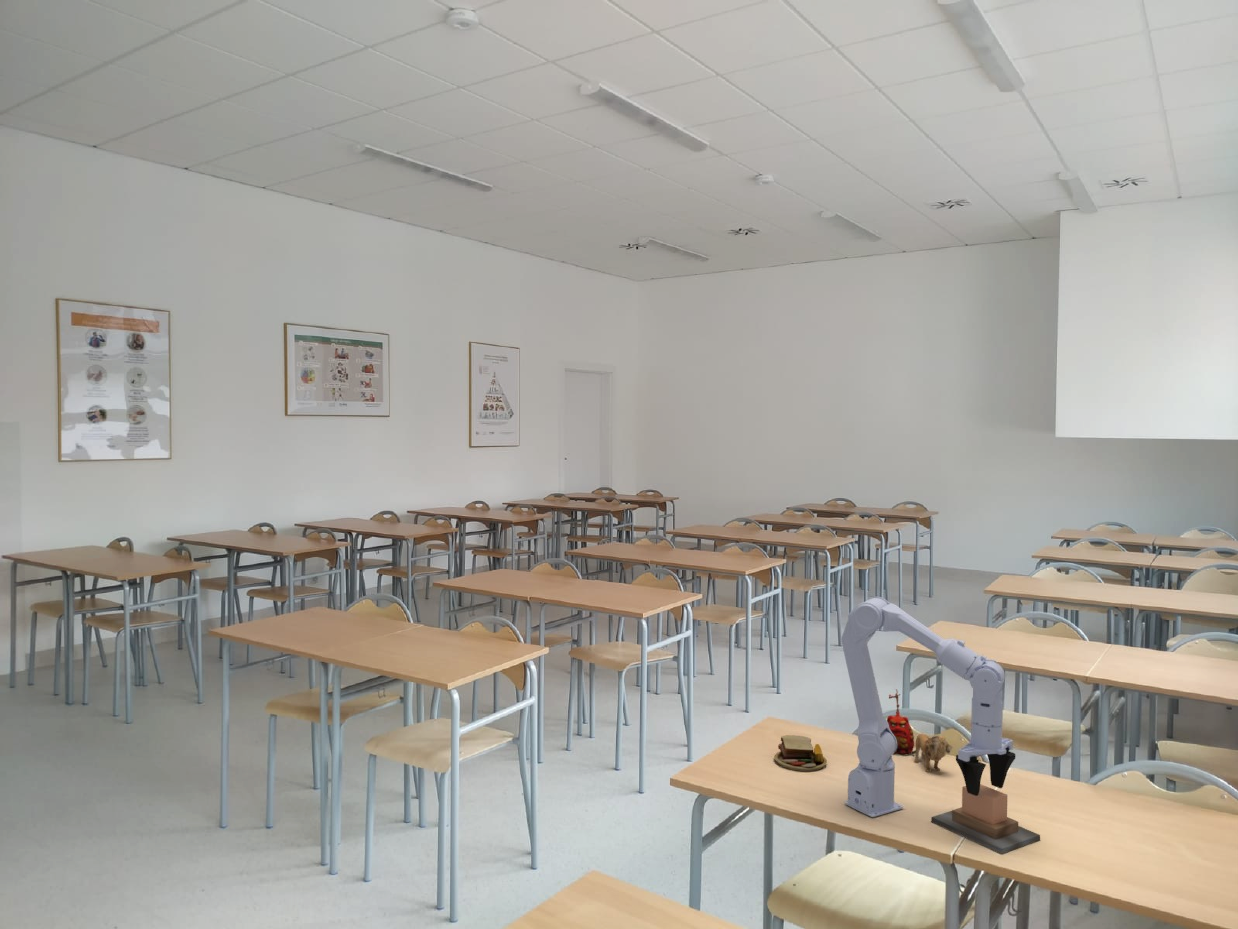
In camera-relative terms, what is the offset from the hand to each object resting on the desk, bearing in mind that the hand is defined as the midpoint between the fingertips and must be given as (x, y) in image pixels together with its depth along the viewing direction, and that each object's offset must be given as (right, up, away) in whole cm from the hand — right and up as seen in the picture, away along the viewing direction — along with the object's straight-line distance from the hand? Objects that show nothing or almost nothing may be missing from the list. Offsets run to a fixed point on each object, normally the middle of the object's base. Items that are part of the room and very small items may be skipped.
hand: (984, 790), depth 170 cm
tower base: (0, -8, 0) cm, 8 cm away
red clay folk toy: (-3, -8, +45) cm, 46 cm away
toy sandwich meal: (-29, -8, +37) cm, 48 cm away
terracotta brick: (0, -5, 0) cm, 5 cm away
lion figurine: (+2, -8, +35) cm, 36 cm away
